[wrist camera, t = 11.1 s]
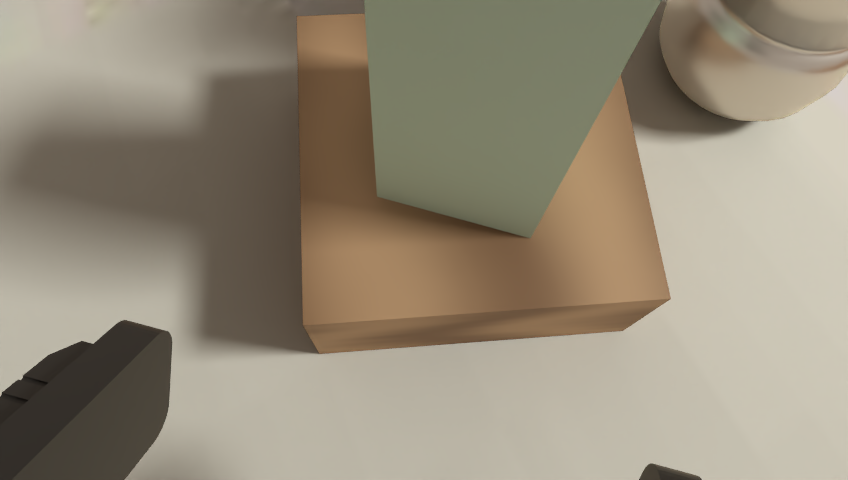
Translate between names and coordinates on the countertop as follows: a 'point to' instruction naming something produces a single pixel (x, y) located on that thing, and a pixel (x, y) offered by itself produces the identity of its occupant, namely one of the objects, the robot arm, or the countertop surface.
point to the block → (490, 98)
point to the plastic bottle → (755, 53)
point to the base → (457, 230)
